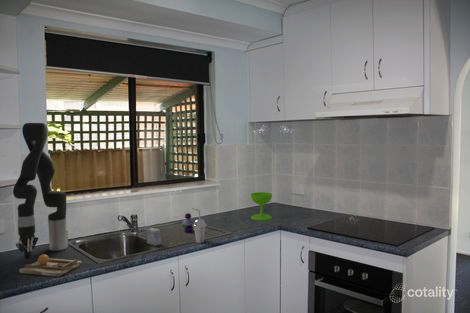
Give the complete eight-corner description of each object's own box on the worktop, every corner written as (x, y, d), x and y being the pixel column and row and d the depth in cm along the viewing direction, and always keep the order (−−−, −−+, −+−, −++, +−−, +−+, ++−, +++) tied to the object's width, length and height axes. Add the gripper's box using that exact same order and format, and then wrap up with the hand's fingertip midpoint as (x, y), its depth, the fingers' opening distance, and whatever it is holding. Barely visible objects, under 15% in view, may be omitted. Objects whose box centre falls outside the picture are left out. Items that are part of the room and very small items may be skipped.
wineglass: (261, 214, 304) (261, 191, 303) (276, 217, 292) (276, 194, 291) (246, 217, 294) (246, 194, 293) (261, 221, 282) (260, 196, 281)
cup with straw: (197, 244, 228) (196, 210, 226) (189, 241, 235) (189, 208, 234) (209, 241, 233) (209, 208, 231) (201, 238, 240) (201, 206, 238)
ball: (43, 262, 196) (42, 252, 196) (51, 263, 195) (51, 253, 194) (35, 265, 191) (35, 255, 191) (44, 266, 190) (43, 256, 190)
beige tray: (45, 260, 203) (44, 254, 203) (81, 264, 197) (81, 257, 197) (19, 272, 186) (19, 265, 186) (58, 276, 181) (58, 269, 181)
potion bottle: (180, 233, 253) (179, 214, 252) (183, 229, 262) (183, 212, 261) (193, 233, 252) (192, 215, 251) (196, 229, 261) (195, 212, 260)
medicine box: (161, 244, 229) (160, 229, 229) (154, 246, 226) (154, 231, 226) (153, 241, 235) (152, 227, 234) (146, 243, 231) (146, 229, 231)
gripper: (30, 221, 201) (31, 254, 202) (9, 227, 188) (11, 262, 189) (42, 221, 199) (43, 255, 200) (22, 228, 186) (24, 263, 187)
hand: (27, 258), depth 195 cm, fingers closed
